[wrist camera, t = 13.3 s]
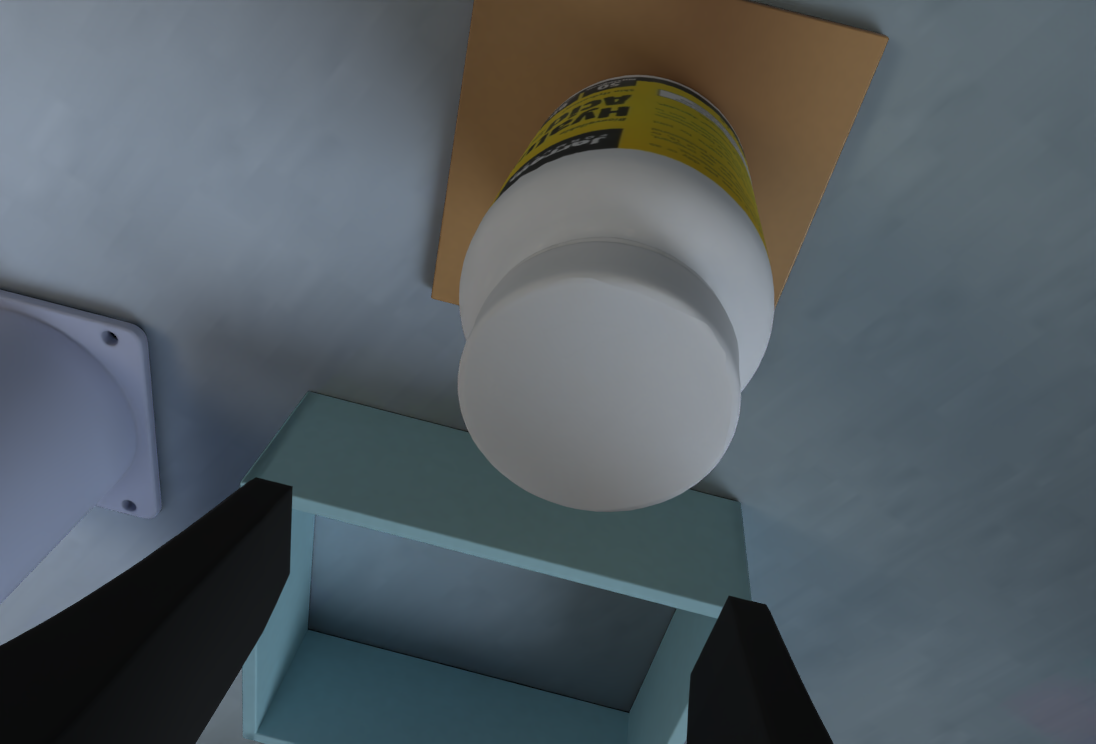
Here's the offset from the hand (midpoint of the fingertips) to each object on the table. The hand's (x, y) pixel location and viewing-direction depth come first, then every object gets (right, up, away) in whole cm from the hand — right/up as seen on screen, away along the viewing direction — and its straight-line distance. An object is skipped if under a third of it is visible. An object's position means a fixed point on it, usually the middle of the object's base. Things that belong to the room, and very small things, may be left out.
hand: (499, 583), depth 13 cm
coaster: (+3, +8, +7) cm, 11 cm away
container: (-1, -4, +15) cm, 15 cm away
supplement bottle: (+3, +8, +7) cm, 11 cm away
